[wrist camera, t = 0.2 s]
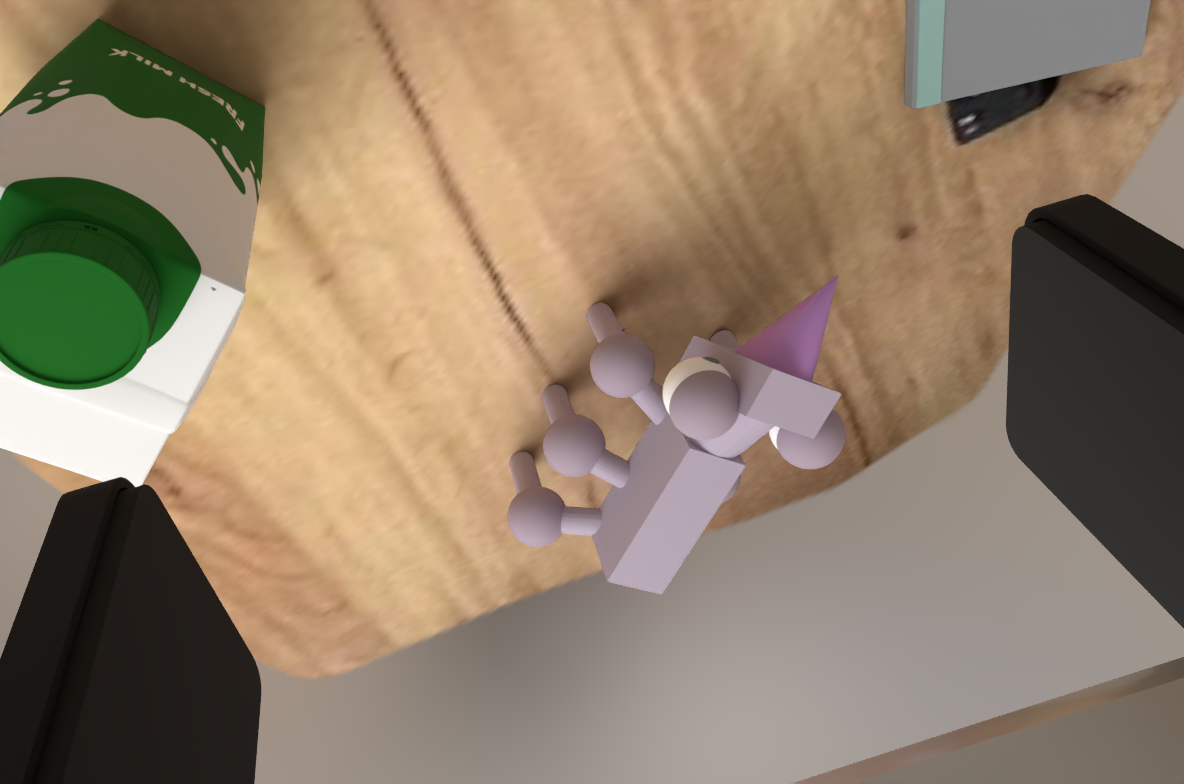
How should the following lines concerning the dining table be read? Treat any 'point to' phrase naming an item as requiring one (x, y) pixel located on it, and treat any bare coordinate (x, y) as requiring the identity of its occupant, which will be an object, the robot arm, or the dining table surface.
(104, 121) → the milk carton
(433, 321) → the dining table surface
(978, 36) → the slate board
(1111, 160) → the dining table surface
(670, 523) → the purple legged toy creature
